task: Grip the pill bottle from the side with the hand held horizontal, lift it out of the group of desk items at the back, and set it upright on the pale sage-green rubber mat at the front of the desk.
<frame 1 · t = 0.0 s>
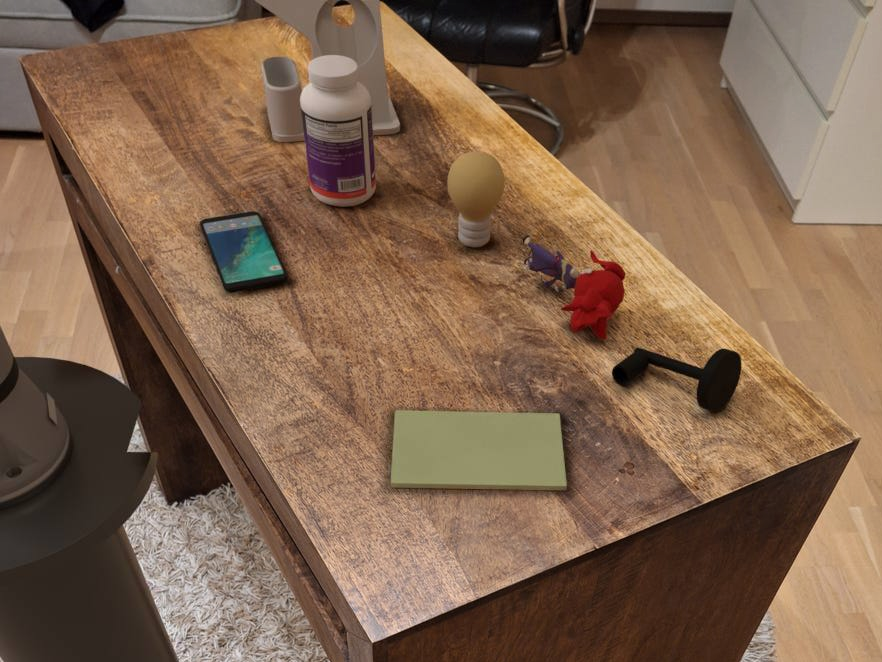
phone holder: (332, 121, 122), on the table
pill bottle: (343, 195, 111), on the table
light bulb: (473, 243, 106), on the table
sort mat: (478, 451, 85), on the table
smartphone: (243, 255, 103), on the table
figurine: (566, 310, 99), on the table
light fixture: (655, 401, 90), on the table
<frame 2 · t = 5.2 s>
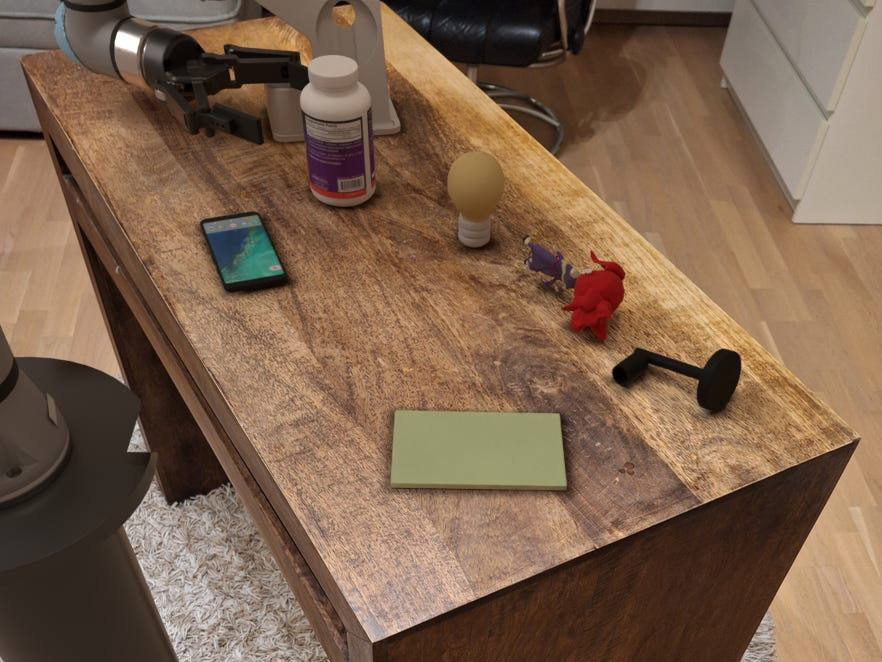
hand: (298, 109, 106), 8 cm above the table, tool horizontal, fingers open, 13 cm apart
nothing on the table moved.
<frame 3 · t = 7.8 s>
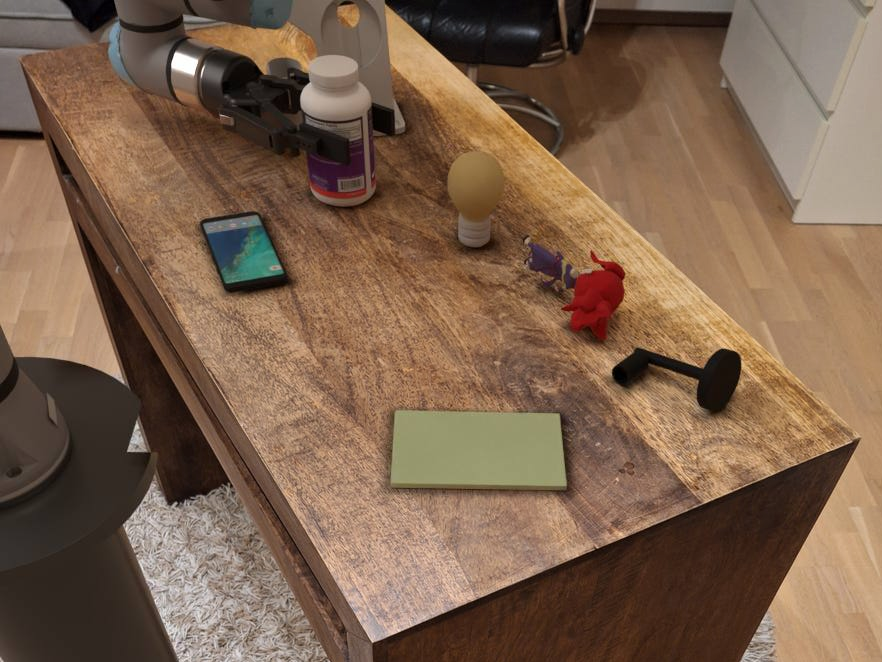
hand: (370, 137, 103), 8 cm above the table, tool horizontal, fingers closed on pill bottle, 8 cm apart
pill bottle: (343, 195, 111), on the table, touching gripper
everything else where it was.
when the fingers open (9 cm above the table, at t = 20.6 s): pill bottle stays where it is, resting on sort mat.
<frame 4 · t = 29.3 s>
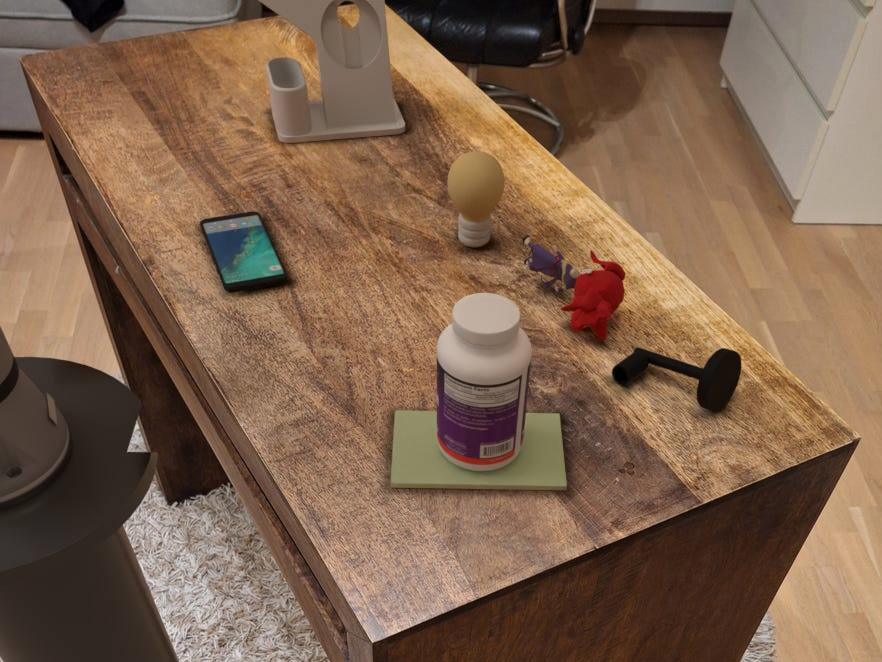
pill bottle: (479, 448, 84), resting on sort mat
everything else where it was.
at the end: pill bottle inside the target area on the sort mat (0.1 cm from its centre), point 0.4 cm above the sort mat's base; pill bottle tilted 0°; the gripper is holding nothing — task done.
